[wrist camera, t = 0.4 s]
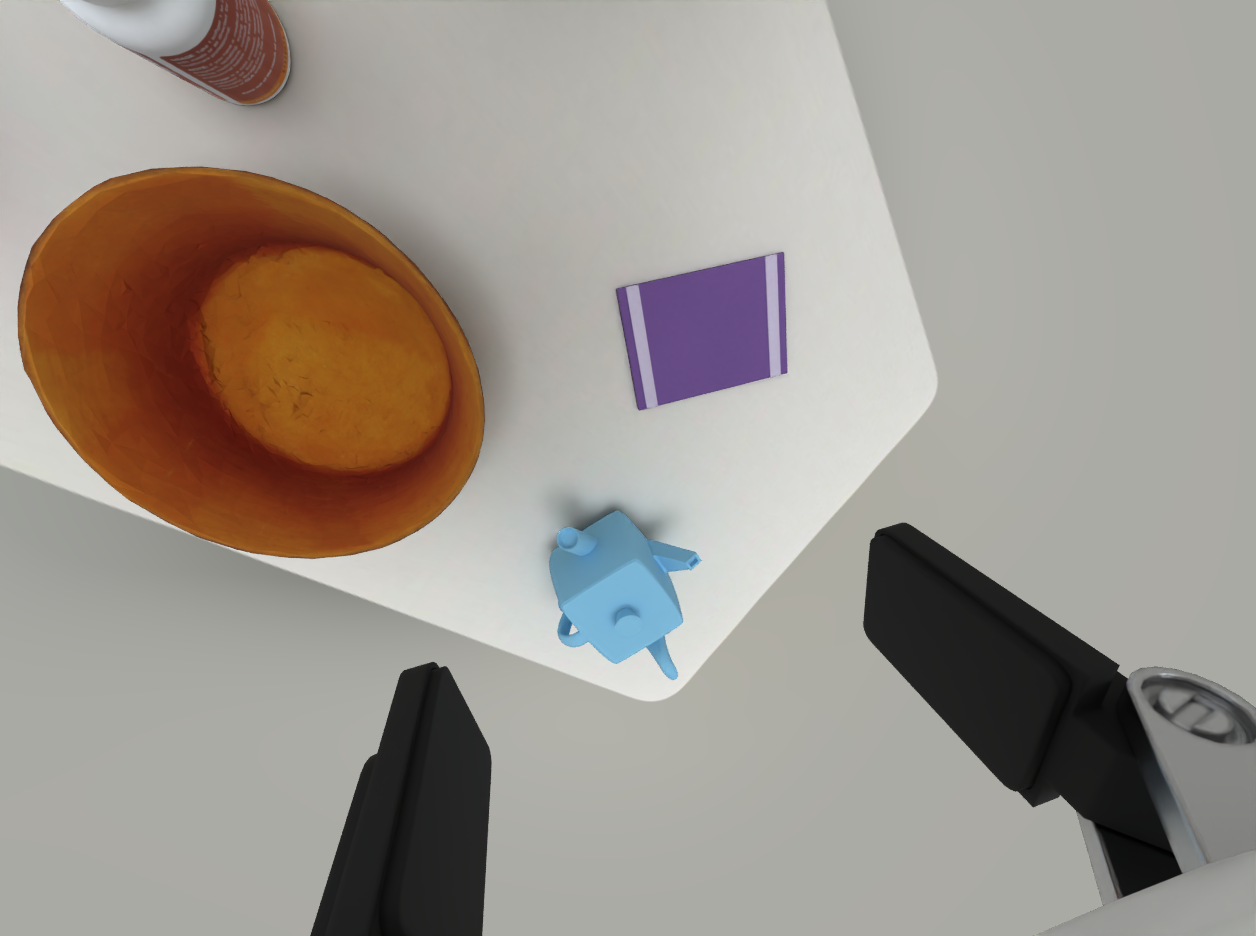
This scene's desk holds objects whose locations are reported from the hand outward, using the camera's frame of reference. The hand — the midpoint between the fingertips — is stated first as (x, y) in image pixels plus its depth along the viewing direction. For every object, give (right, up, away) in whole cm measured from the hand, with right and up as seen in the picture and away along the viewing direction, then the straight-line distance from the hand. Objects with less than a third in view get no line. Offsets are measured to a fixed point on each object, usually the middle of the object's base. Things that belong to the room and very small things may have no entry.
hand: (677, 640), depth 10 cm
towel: (+6, +15, +28) cm, 32 cm away
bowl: (-22, +11, +23) cm, 34 cm away
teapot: (-2, -5, +35) cm, 36 cm away
